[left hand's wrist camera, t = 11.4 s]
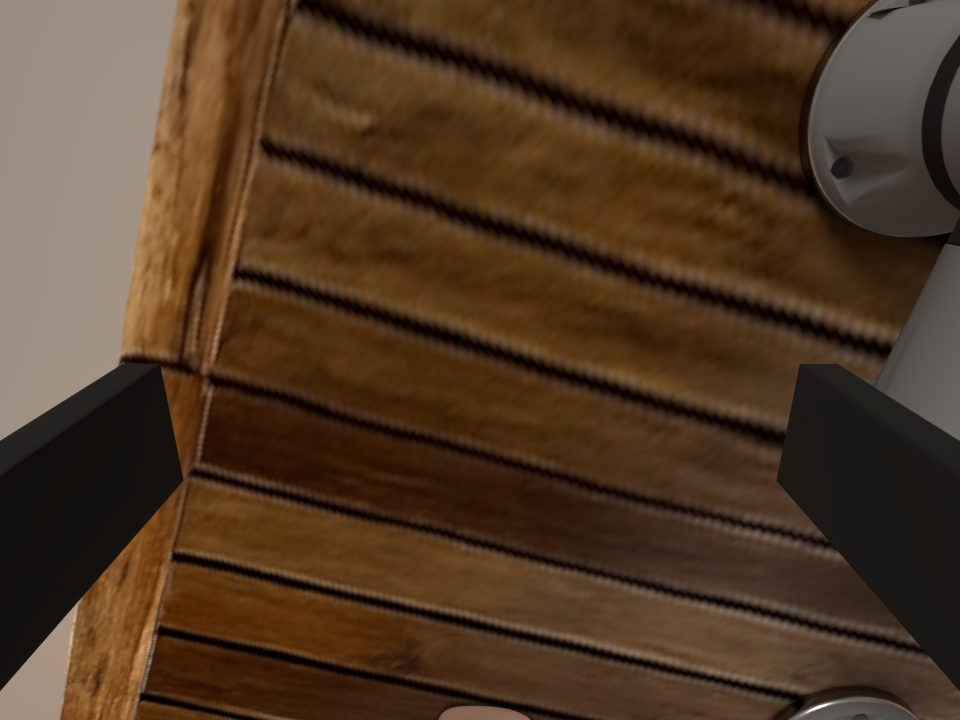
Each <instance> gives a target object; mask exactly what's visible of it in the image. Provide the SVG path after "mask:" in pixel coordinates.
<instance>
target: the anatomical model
mask: <svg viewBox="0 0 960 720" xmlns="http://www.w3.org/2000/svg"><path fill="white" fill-rule="evenodd" d="M438 720H530V719H529V718H528V717H527V716H525V715H523V714H521V713H519V712H517V711H513V710H510V709H505V708H499V707H491V706H458V707H453V708H450V709H448V710H446V711H444V712H443V713H442V714H441V716H440V717H439V719H438Z"/></svg>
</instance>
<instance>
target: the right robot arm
mask: <svg viewBox="0 0 960 720" xmlns="http://www.w3.org/2000/svg"><path fill="white" fill-rule="evenodd" d="M772 720H919V719H918V718H917V717H916V715H915V714H914V713H913V711H912V710H911V709H910V708H909V706H908V705H907V704H906V703H904V702H903V701H902V700H901V699H899V698H898V697H896V696H894V695H892V694H890V693H887V692H885V691H882V690H878V689H874V688H868V687H840V688H833V689H828V690H824V691H820V692H817V693H814V694H811V695H808V696H806V697H804V698H802V699H799V700H798V701H796V702H794V703H792V704H791V705H789V706H788V707H786V708H785V709H783V710H782V711H781V712H779V713H778V714H777V715H776V716H775V717H774V718H773V719H772Z"/></svg>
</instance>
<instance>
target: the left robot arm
mask: <svg viewBox="0 0 960 720" xmlns="http://www.w3.org/2000/svg"><path fill="white" fill-rule="evenodd" d="M799 142H800V153H801V158H802V163H803V167H804V170H805V173H806V176H807V178H808V181H809V183H810V185H811V187H812V189H813V190H814V192H815V194H816V195H817V197H818V198H819V199H820V201H821V202H822V203H823V204H824V205H825V206H826V207H827V208H828V209H829V210H830V211H831V212H832V213H833V214H834V215H836V216H837V217H838V218H840V219H841V220H843V221H845V222H846V223H848V224H850V225H852V226H855V227H857V228H860V229H863V230H866V231H871V232H875V233H879V234H883V235H888V236H896V237H923V236H933V235H939V234H944V233H949V232H952V233H951V235H950V237H949V239H948V241H947V242H946V244H945V245H944V247H943V249H942V251H941V253H940V255H939V257H938V259H937V261H936V263H935V265H934V267H933V269H932V271H931V273H930V275H929V277H928V279H927V281H926V283H925V285H924V287H923V289H922V291H921V293H920V295H919V297H918V299H917V301H916V303H915V305H914V307H913V309H912V311H911V313H910V315H909V317H908V319H907V321H906V323H905V325H904V327H903V329H902V331H901V333H900V335H899V337H898V339H897V341H896V343H895V345H894V347H893V349H892V351H891V353H890V355H889V357H888V358H887V360H886V362H885V364H884V366H883V368H882V370H881V372H880V374H879V375H878V377H877V379H876V380H874V381H872V383H871V384H868V383H867V382H865V381H864V380H862V379H860V378H859V377H857V376H856V375H854V374H852V373H851V372H849V371H848V370H846V369H844V368H843V367H841V366H840V365H838V364H800V367H799V372H798V377H797V382H796V387H795V392H794V397H793V402H792V407H791V412H790V416H789V421H788V426H787V431H786V436H785V441H784V446H783V451H782V456H781V461H780V466H779V471H778V476H777V482H778V483H779V484H780V485H781V486H782V487H783V489H784V490H785V491H786V492H787V493H788V494H789V495H790V497H791V498H792V499H793V500H794V501H795V502H796V503H797V505H798V506H799V507H800V508H801V509H802V510H803V512H804V513H805V514H806V515H807V516H808V517H809V518H810V520H811V521H812V522H813V523H814V524H815V525H816V526H817V528H818V529H819V530H820V531H821V532H822V533H823V534H824V536H825V537H826V538H827V539H828V540H829V541H830V543H831V544H832V545H833V546H834V547H835V548H836V549H837V551H838V552H839V553H840V554H841V555H842V556H843V557H844V559H845V560H846V561H847V562H848V563H849V564H850V566H851V567H852V568H853V569H854V570H855V571H856V572H857V574H858V575H859V576H860V577H861V578H862V579H863V580H864V582H865V583H866V584H867V585H868V586H869V587H870V588H871V590H872V591H873V592H874V593H875V594H876V595H877V597H878V598H879V599H880V600H881V601H882V602H883V603H884V605H885V606H886V607H887V608H888V609H889V610H890V611H891V613H892V614H893V615H894V616H895V617H896V618H897V619H898V621H899V622H900V623H901V624H902V625H903V626H904V628H905V629H906V630H907V631H908V632H909V633H910V634H911V636H912V637H913V638H914V639H915V640H916V641H917V642H918V644H919V645H920V646H921V647H922V648H923V649H924V651H925V652H926V653H927V654H928V655H929V656H930V657H931V659H932V660H933V661H934V662H935V663H936V664H937V665H938V667H939V668H940V669H941V670H942V671H943V672H944V673H945V675H946V676H947V677H948V678H949V679H950V680H951V682H952V683H953V684H954V685H955V686H956V687H957V688H958V690H959V691H960V0H872V1H870V2H869V3H868V4H867V5H865V6H864V7H863V8H862V9H861V10H859V11H858V12H857V13H856V14H855V15H854V16H853V17H852V18H851V19H850V20H849V21H848V22H847V23H846V24H845V25H844V26H843V27H842V29H841V30H840V31H839V32H838V34H837V35H836V36H835V37H834V39H833V40H832V41H831V43H830V44H829V46H828V47H827V49H826V50H825V52H824V54H823V55H822V57H821V59H820V61H819V62H818V64H817V66H816V69H815V71H814V73H813V75H812V77H811V80H810V83H809V85H808V88H807V91H806V94H805V98H804V102H803V106H802V111H801V118H800V128H799ZM182 482H183V476H182V471H181V466H180V461H179V456H178V451H177V446H176V441H175V436H174V431H173V426H172V421H171V416H170V412H169V407H168V402H167V397H166V392H165V387H164V382H163V377H162V372H161V367H160V364H122V365H120V366H119V367H117V368H116V369H114V370H112V371H111V372H109V373H108V374H106V375H104V376H103V377H101V378H100V379H98V380H96V381H95V382H93V383H92V384H90V385H88V386H87V387H85V388H84V389H82V390H81V391H79V392H77V393H76V394H74V395H73V396H71V397H69V398H68V399H66V400H65V401H63V402H61V403H60V404H58V405H57V406H55V407H53V408H52V409H50V410H49V411H47V412H45V413H44V414H42V415H41V416H39V417H37V418H36V419H34V420H33V421H31V422H29V423H28V424H26V425H25V426H23V427H22V428H20V429H18V430H17V431H15V432H14V433H12V434H10V435H9V436H7V437H6V438H4V439H2V440H1V441H0V691H1V690H2V688H3V687H4V686H5V685H6V684H7V683H8V681H9V680H10V679H11V678H12V677H13V676H14V675H15V673H16V672H17V671H18V670H19V669H20V668H21V667H22V665H23V664H24V663H25V662H26V661H27V660H28V659H29V657H30V656H31V655H32V654H33V653H34V652H35V651H36V649H37V648H38V647H39V646H40V645H41V644H42V642H43V641H44V640H45V639H46V638H47V637H48V636H49V634H50V633H51V632H52V631H53V630H54V629H55V628H56V626H57V625H58V624H59V623H60V622H61V621H62V619H63V618H64V617H65V616H66V615H67V614H68V613H69V611H70V610H71V609H72V608H73V607H74V606H75V605H76V603H77V602H78V601H79V600H80V599H81V598H82V597H83V595H84V594H85V593H86V592H87V591H88V590H89V588H90V587H91V586H92V585H93V584H94V583H95V582H96V580H97V579H98V578H99V577H100V576H101V575H102V574H103V572H104V571H105V570H106V569H107V568H108V567H109V566H110V564H111V563H112V562H113V561H114V560H115V559H116V557H117V556H118V555H119V554H120V553H121V552H122V551H123V549H124V548H125V547H126V546H127V545H128V544H129V543H130V541H131V540H132V539H133V538H134V537H135V536H136V534H137V533H138V532H139V531H140V530H141V529H142V528H143V526H144V525H145V524H146V523H147V522H148V521H149V520H150V518H151V517H152V516H153V515H154V514H155V513H156V512H157V510H158V509H159V508H160V507H161V506H162V505H163V503H164V502H165V501H166V500H167V499H168V498H169V497H170V495H171V494H172V493H173V492H174V491H175V490H176V489H177V487H178V486H179V485H180V484H181V483H182Z"/></svg>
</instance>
